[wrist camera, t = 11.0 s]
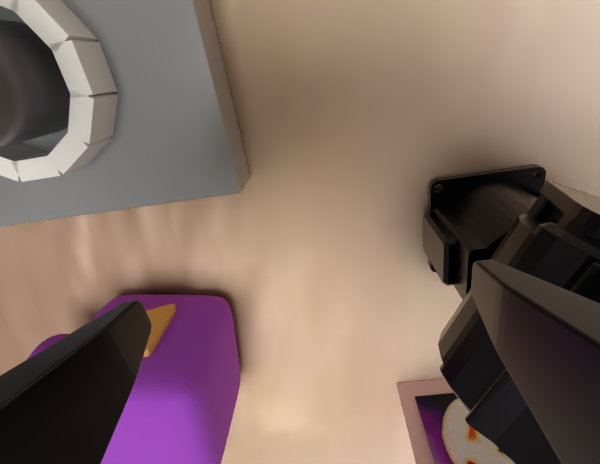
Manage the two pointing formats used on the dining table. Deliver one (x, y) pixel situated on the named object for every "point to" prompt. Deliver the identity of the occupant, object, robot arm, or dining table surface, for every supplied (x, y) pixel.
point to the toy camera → (178, 383)
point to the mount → (126, 111)
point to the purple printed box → (443, 426)
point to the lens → (29, 86)
